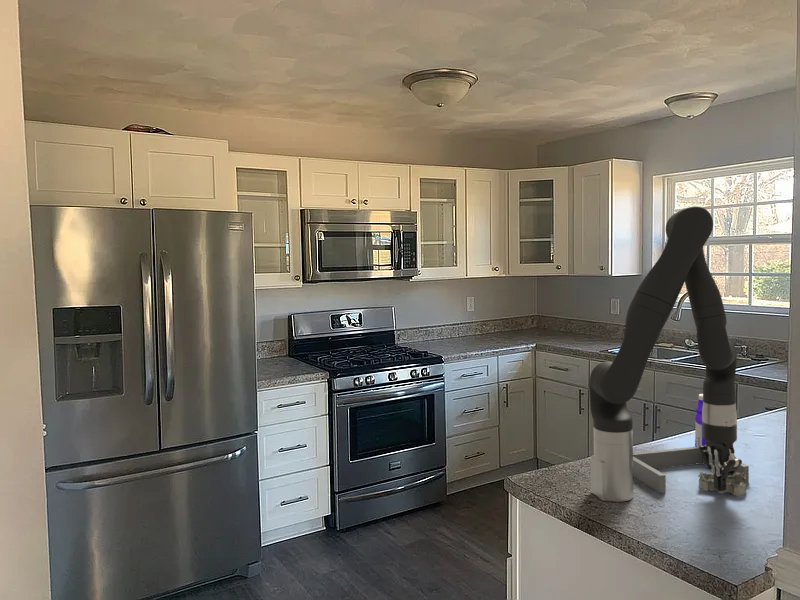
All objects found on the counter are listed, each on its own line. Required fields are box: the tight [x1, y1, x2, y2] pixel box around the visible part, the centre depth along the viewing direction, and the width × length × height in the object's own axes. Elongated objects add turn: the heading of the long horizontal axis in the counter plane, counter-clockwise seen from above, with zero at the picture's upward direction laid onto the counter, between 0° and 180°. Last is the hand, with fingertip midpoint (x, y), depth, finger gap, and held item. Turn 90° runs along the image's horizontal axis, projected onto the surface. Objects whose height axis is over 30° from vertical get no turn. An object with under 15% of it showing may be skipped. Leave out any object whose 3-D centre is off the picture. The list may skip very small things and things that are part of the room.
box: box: [633, 446, 750, 494], centre depth 166 cm, size 25×18×4 cm
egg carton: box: [697, 471, 748, 497], centre depth 157 cm, size 11×8×4 cm
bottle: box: [694, 393, 706, 447], centre depth 183 cm, size 7×6×17 cm
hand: (720, 489), depth 152 cm, fingers closed
